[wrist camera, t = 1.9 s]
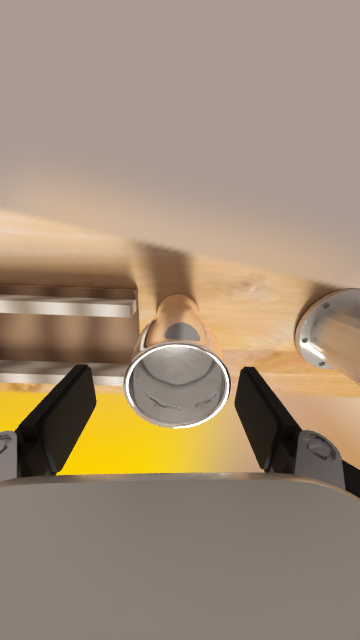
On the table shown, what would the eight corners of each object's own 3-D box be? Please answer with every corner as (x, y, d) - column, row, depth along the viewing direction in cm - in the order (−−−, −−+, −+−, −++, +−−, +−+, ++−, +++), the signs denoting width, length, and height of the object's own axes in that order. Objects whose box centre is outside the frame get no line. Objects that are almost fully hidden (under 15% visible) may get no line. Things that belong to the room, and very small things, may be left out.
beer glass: (162, 341, 26) (143, 440, 12) (147, 298, 23) (99, 356, 9) (206, 329, 25) (243, 418, 11) (194, 284, 23) (222, 323, 9)
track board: (137, 289, 23) (129, 295, 19) (141, 374, 28) (135, 392, 24) (-42, 281, 22) (-89, 286, 18) (-8, 369, 27) (-39, 388, 23)
